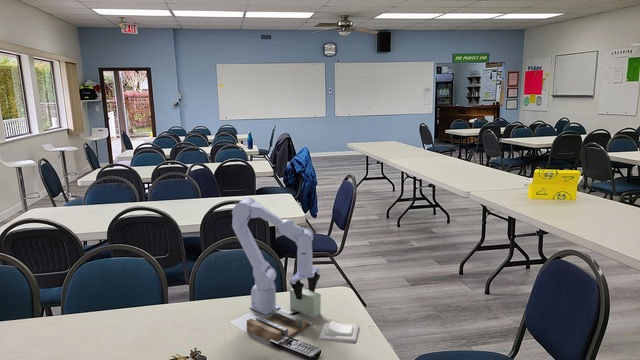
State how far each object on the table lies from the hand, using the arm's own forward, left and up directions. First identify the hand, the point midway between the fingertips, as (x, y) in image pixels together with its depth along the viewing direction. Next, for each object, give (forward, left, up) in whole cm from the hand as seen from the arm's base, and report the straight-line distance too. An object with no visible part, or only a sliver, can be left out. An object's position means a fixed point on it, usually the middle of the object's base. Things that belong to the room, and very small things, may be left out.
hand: (305, 295), depth 172 cm
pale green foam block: (0, 0, -6) cm, 6 cm away
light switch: (+20, -5, -7) cm, 22 cm away
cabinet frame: (+1, -16, -6) cm, 17 cm away
